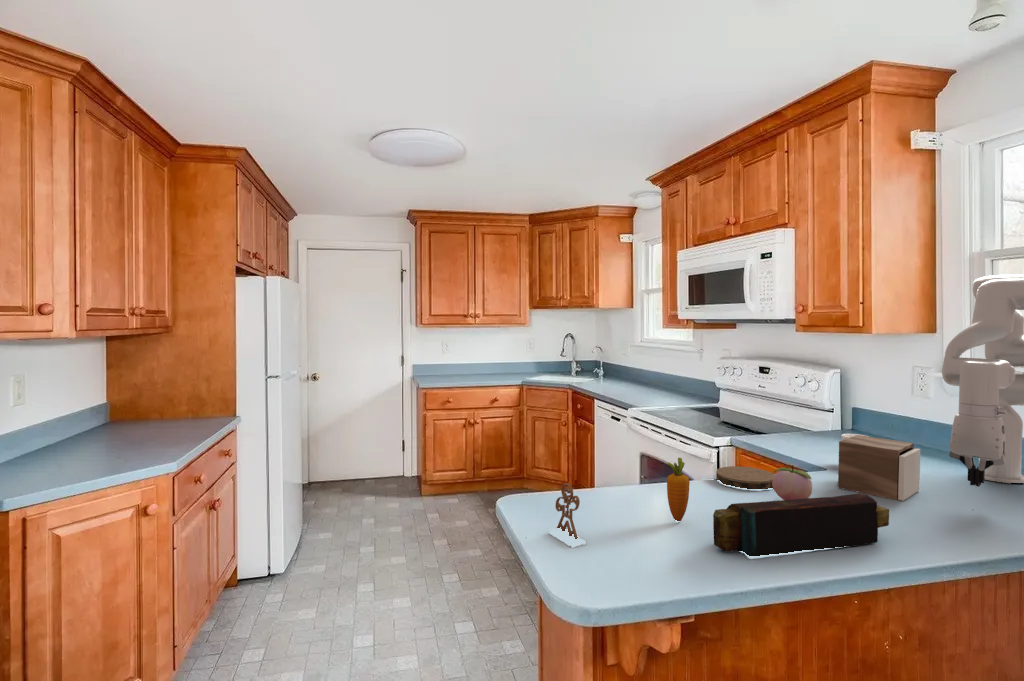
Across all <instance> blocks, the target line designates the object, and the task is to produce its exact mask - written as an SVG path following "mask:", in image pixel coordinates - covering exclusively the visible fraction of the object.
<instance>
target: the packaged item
mask: <svg viewBox="0 0 1024 681" xmlns="http://www.w3.org/2000/svg"><path fill="white" fill-rule="evenodd" d="M712 516H713V517H712V518H713V519H712V520H713V522H712V523H713V524H712V525H713V544H714V545H715V546H716V547H717V548H719V550H721V551H723V552H738V551H743V552H745V553H746V554H747V555H749V556H760V555H769V554H779V553H788V552H794V551H802V550H814V549H824V548H835V547H844V546H851V547H856V546H855V545H859V546H865V545H864V544H866V545H870V544H875V543H878V541H879V540H878V537H879V528H883V527H889V525H890V508H886V507H884V506H881V505H878V502H877V501H876V500H875V499H874V498H872V496H869V494H865V493H852V494H851V493H850V494H843V495H835V496H825V497H822V496H821V497H809V498H804V499H792V500H783V499H782V500H768V501H758V502H757V501H756V502H739V503H738V502H737V503H731V504H729V505H728V506H727V508H721V509H715V510H714V513H713V515H712Z"/></svg>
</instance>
